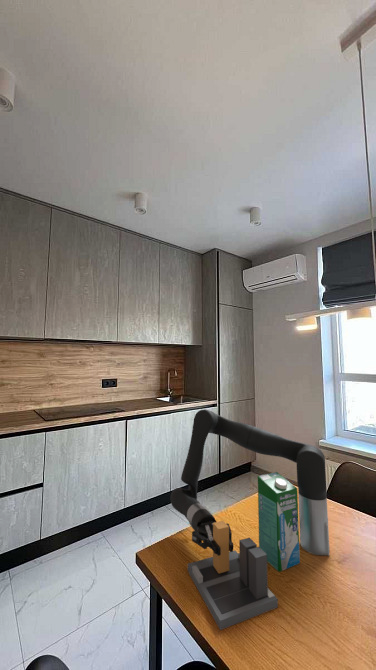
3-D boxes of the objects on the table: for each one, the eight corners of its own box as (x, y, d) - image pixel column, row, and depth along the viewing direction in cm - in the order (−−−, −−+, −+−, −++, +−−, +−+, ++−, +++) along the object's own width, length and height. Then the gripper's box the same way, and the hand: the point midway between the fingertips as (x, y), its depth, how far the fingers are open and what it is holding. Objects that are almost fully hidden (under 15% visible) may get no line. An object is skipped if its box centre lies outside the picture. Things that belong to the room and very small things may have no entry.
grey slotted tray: (235, 556, 90) (235, 517, 92) (277, 607, 72) (276, 557, 73) (187, 570, 84) (187, 528, 85) (220, 630, 65) (220, 574, 67)
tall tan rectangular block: (223, 562, 84) (223, 520, 86) (229, 570, 81) (228, 526, 82) (213, 565, 83) (213, 522, 84) (218, 573, 80) (218, 529, 81)
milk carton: (279, 572, 84) (276, 485, 87) (258, 554, 92) (257, 475, 95) (300, 563, 88) (297, 480, 91) (279, 546, 96) (277, 471, 99)
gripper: (182, 512, 94) (204, 542, 78) (218, 504, 99) (246, 531, 83) (181, 536, 93) (203, 571, 77) (218, 527, 98) (246, 558, 82)
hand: (225, 550), depth 80 cm, fingers closed on tall tan rectangular block, 3 cm apart
